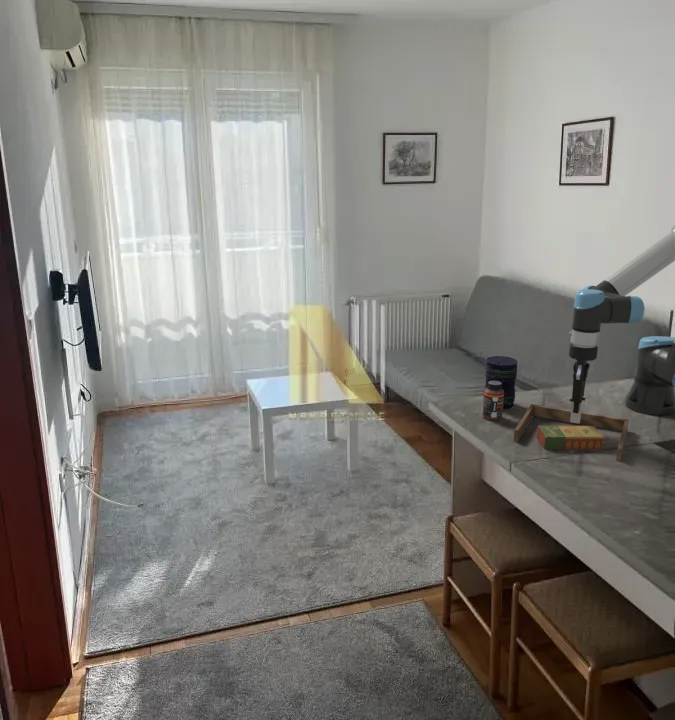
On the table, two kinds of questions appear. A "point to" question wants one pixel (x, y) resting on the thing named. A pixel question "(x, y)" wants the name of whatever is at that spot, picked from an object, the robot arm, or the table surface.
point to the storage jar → (503, 376)
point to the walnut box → (585, 420)
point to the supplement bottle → (493, 401)
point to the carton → (570, 437)
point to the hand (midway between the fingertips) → (575, 421)
